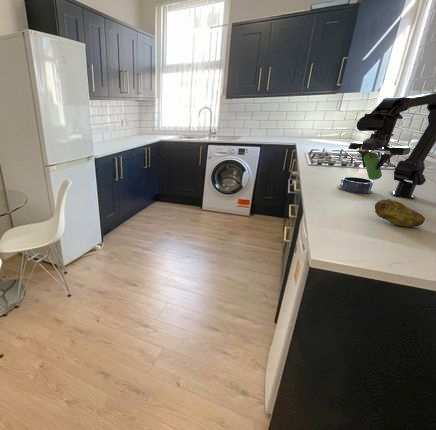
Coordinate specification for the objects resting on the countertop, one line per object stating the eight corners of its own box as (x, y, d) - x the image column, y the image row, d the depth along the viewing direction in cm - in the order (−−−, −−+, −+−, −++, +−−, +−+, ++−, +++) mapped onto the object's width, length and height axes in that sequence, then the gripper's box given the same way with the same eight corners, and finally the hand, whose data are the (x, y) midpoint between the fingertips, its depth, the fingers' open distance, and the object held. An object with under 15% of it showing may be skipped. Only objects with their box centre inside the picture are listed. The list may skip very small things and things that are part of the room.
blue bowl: (340, 185, 142) (343, 175, 140) (370, 189, 135) (373, 179, 133) (337, 190, 134) (341, 180, 132) (369, 195, 127) (373, 184, 125)
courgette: (368, 172, 125) (363, 151, 118) (382, 171, 122) (377, 149, 114) (368, 180, 124) (362, 159, 116) (381, 179, 120) (376, 158, 113)
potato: (418, 232, 90) (428, 209, 87) (367, 220, 100) (375, 199, 97) (422, 226, 95) (432, 204, 92) (373, 215, 104) (381, 194, 101)
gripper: (346, 129, 118) (335, 166, 124) (402, 133, 102) (387, 175, 108) (361, 128, 122) (350, 164, 128) (418, 132, 107) (402, 172, 112)
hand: (370, 168), depth 119 cm, fingers closed on courgette, 4 cm apart
